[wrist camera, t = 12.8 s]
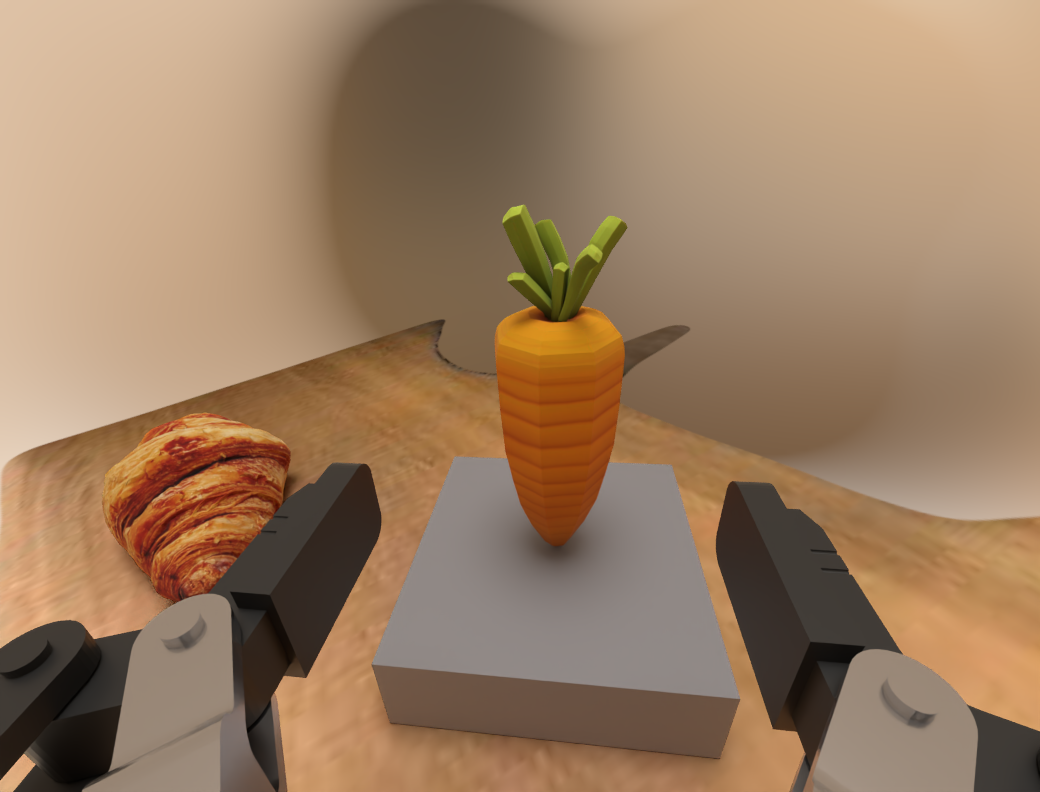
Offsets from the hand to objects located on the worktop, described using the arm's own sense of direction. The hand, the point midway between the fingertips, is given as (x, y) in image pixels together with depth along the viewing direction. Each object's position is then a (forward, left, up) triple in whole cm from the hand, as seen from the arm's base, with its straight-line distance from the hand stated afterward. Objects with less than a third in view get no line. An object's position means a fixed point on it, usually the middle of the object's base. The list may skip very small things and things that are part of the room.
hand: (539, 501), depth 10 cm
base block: (0, -8, -13) cm, 16 cm away
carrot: (0, -8, -10) cm, 12 cm away
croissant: (+23, -13, -14) cm, 30 cm away
